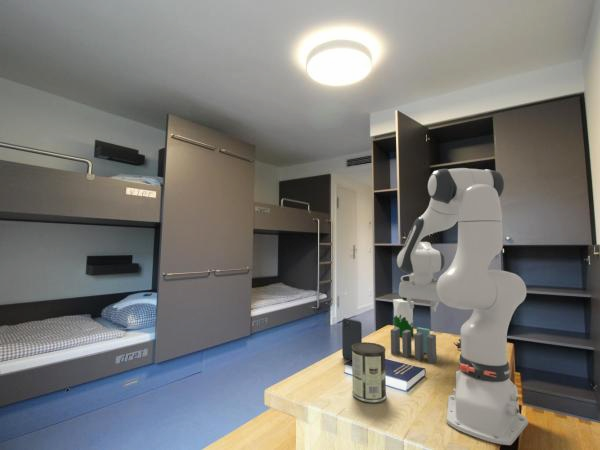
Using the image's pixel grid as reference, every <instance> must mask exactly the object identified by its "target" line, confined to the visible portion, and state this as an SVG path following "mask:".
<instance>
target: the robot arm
mask: <svg viewBox="0 0 600 450" xmlns="http://www.w3.org/2000/svg"><path fill="white" fill-rule="evenodd" d="M504 188H505V181H504V178H503V175H502V174H501V172H499V171H496V170H492V169H487V168H486V169H478V168H468V167H467V168H466V167H458V168H457V167H456V168H449V169H448V168H441V169H437V170H434V171H433V172H432V173H431V174H430V176H429V178H428V181H427V193H428V196H429V197H430V200H429V204H428V206H427V208H426V210H425V211H424V213H423V214H421V215H420V216H419V217H417V218H416V219H415V221H414V222H413V224H412V226H411V229H410V230H409V232H408V234H407V237H406V240H405V241H404V244H403V245H402V248H401V249H400V250H399V252H398V254H397V257H396V258H397V259H396V265H397V268H399V270H400V271H401V272H403V273H405V274H406V275H402V276H401V277H400V283H399V286H398V296H399V297H400V298H403V297H405V298H407V301H408V303H409V308H413V309H414V308H415V305H414V304H412V302H411V301H412V299H413V300H414V299H415V300H422V301H430V302H431V301H432V302H433V304H434V306H431V311H430V312H434V313H436V311H437V307H438V305H439V304H440V303H442V304H444V306H447V307H449V308H453V309H459V310H473V311H472V314H471V316H470V318H468V319H467V320H466V321H465V322H464V323H463V324H462V325H461V328H460V330H459V331H460V339H461V348H460V353H459V358H458V359H459V360H458V363H459V365H458V366H459V367H458V370H457V371H455V382H456V385H455V388H453V389H452V394H450V395H448V399H447V409H446V424H448V425H449V426H451V427H452V428H454V429H456V430H458V431H460V432H463V433H464V434H467V435H470V436H473V437H475V438H478V439H481V440H484V441H486V442H490V443H494V444H499V445H503V446H504V445H505V446H512V444H513V443H514V442H515V441H516V440H517V438H519V436H520V435H521V433H522V432H523V431H524V430H525V428H526V427H527V426H528V425H529V419H528V418H527V417H526V416H525V415H523V414H521V413H520V406H519V405H520V404H519V395H518V388H517V387H518V386H517V385H515V384H514V383H513V381H511V379H510V377H511V367H510V363H509V361H508V351H507V348H508V347H507V345H508V341H507V340H508V339H507V338H508V336H507V335H508V330H509V326H510V322H511V320H512V317H513V315H514V313H515V311H516V310H517V307H519V306H520V304H522V303H523V302H524V301H525V299H526V297H527V293H528V292H527V285H526V283H525V281H524V280H523V279H522V277H521V276H519V275H518V274H516V273H513V272H510V271H506V270H502V269H489V268H490V264H491V262H492V260H493V259H494V258H495V257H496V256H497V255H498V254H500V253H501V251H502V250H503V247H504V243H503V242H504V241H503V213H502V207H501V201H500V197H501V196H502V194H503V191H504ZM456 223H457V246H456V252H455V255H454V258H453V260H452V262H451V264H450V265H449V267H448V268H447V269H446V270H445V271H444V273H442V274H441V275H440V276H439V277H438V279H437V278H433V277H434V273H440V272H441V271H442V270H443V269H444V268H445V262H446V261H445V256H444V254H443V253H442V252H441V251H440V250H439V249H438V250H437V249H435V248H433V246H432V244H431V243H430V242H428V241H422V239H423V238H425V237H427V236H430V235H431V234H435V233H438V232H443V231H446V230H448V229H449V230H450V229H451V228H453V227H454V226H455V225H456ZM410 300H411V301H410ZM439 302H440V303H439Z"/></svg>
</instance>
